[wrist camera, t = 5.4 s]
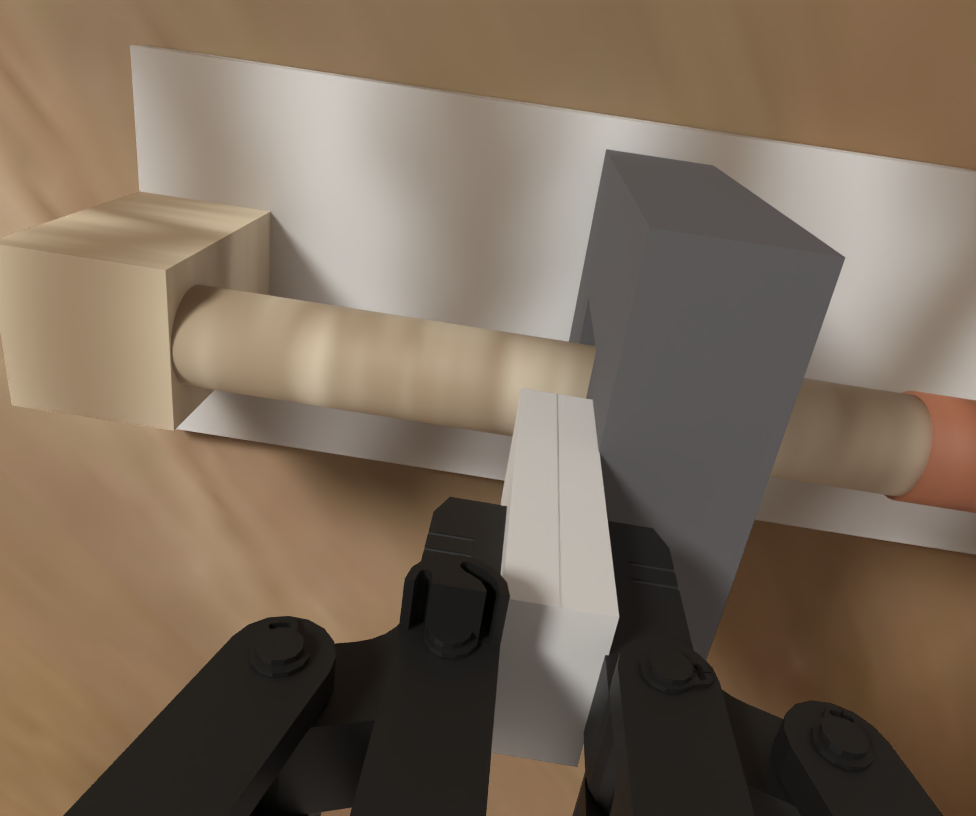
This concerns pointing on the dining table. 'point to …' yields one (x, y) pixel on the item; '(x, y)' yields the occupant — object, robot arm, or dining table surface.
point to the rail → (471, 285)
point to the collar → (695, 357)
